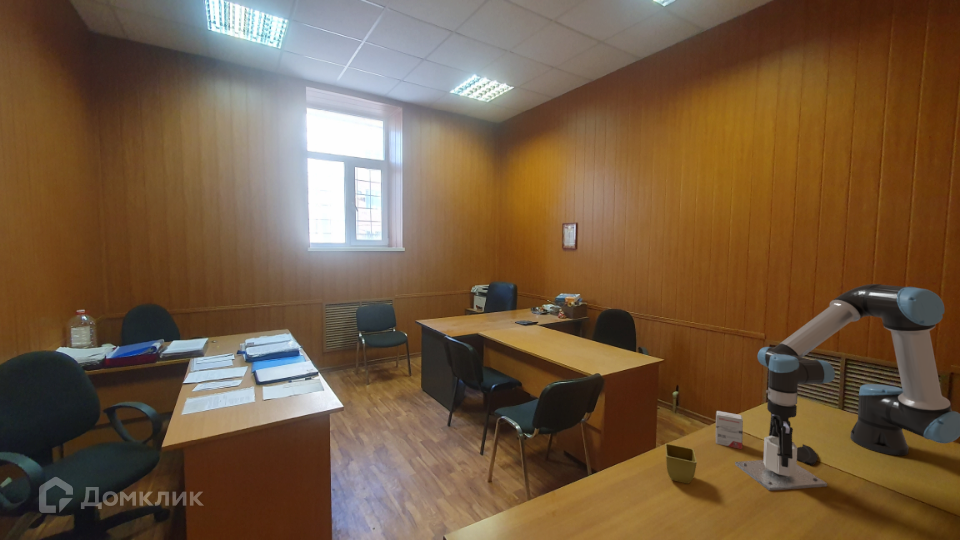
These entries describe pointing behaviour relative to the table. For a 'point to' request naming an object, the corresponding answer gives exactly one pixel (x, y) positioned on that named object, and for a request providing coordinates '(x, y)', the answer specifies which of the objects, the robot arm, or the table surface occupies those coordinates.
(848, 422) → the table surface
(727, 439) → the ink box
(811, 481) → the duct plate
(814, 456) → the curved wedge
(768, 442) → the octagonal hollow tube
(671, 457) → the flower pot
